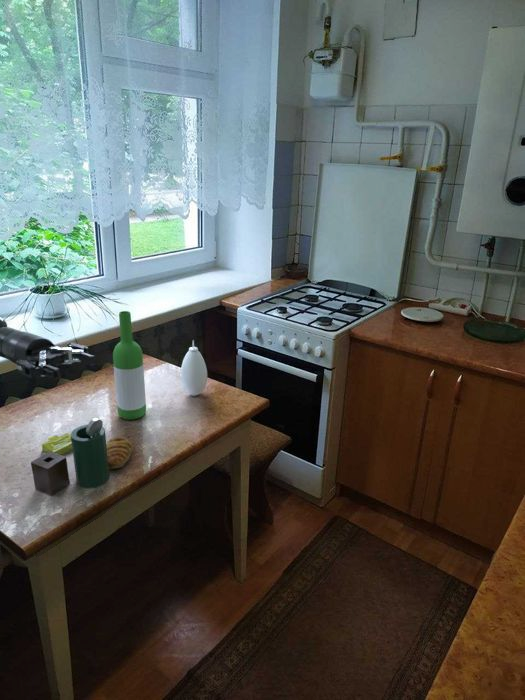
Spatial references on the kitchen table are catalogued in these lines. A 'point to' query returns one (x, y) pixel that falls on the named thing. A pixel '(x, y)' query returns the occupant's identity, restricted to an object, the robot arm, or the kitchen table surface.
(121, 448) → the pastry
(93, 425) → the spoon
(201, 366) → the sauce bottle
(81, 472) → the green hollow tube
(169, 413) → the kitchen table surface
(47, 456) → the spoon stand
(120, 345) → the wine bottle
